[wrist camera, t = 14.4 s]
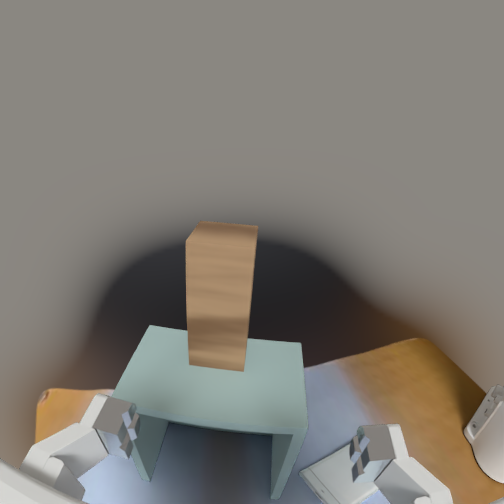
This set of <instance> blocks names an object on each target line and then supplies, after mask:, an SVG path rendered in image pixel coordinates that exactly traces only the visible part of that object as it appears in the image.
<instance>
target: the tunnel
mask: <svg viewBox="0 0 504 504" xmlns="http://www.w3.org/2000/svg"><path fill="white" fill-rule="evenodd" d="M111 397H113V398H117V399H120V400H124V401H128V402H132V403H135V404H136V407H137V410H136V413H137V414H138V415H139V417H140V424H141V425H140V431H139V434H138V437H137V438H136V439H134V440H132V443H133V446H134V447H133V450H132V452H131V456H132V458H133V460H134V463H135V465H136V467H137V469H138V471H139V474H140V476H141V478H142V480H145V481H149V482H150V481H151V478H152V475H153V471H154V468H155V465H156V461H157V458H158V455H159V452H160V449H161V445H162V442H163V439H164V436H165V433H166V429H167V426H168V423H169V422H170V423H176V424H181V425H187V426H192V427H199V428H205V429H212V430H219V431H227V432H236V433H245V434H256V435H269V436H272V463H271V490H270V499H277V500H279V498H280V496H281V494H282V491H283V489H284V487H285V485H286V482H287V480H288V478H289V475H290V473H291V471H292V468H293V466H294V463H295V461H296V459H297V456H298V454H299V451H300V449H301V446H302V444H303V441H304V438H305V436H306V433H307V430H308V416H307V404H306V391H305V380H304V369H303V359H302V348H301V343H292V342H280V341H269V340H258V339H248V340H247V348H246V357H245V366H244V372H241V371H232V370H223V369H215V368H207V367H200V366H193V365H189V353H188V331H184V330H177V329H170V328H164V327H158V326H151V325H150V326H149V328H148V330H147V331H146V333H145V335H144V337H143V338H142V340H141V342H140V344H139V346H138V347H137V349H136V351H135V353H134V355H133V357H132V358H131V360H130V362H129V364H128V366H127V368H126V370H125V372H124V373H123V375H122V377H121V379H120V381H119V383H118V385H117V387H116V389H115V391H114V392H113V394H112V396H111Z"/></svg>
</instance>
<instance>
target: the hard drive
mask: <svg viewBox="0 0 504 504" xmlns="http://www.w3.org/2000/svg"><path fill="white" fill-rule="evenodd" d="M349 448H350V444H348V445H347V446H345V447H343V448H342V449H340V450H338V451H337V452H335V453H333V454H331V455H330V456H328V457H326V458H324V459H322V460H321V461H319V462H317V463H315V464H313V465H311V466H310V467H308V468H306V469H304V470H302V471H300V472H299V475H300V476H301V478H302V479H303V480H304V481H305V482H306V484H307V485H308V486H309V487H310V489H311V490H312V491H313V492H314V493H315V494H316V496H317V497H318V498H319V499H320V500H321V502H322V503H323V504H360V503H362V502H363V501H365V500H366V499H367V498H369V497H370V496H372V495H373V494H374V493H376V492H377V491H378V490H379V489H378V487H377V486H376V485H375V484H374V482H363V483H353V478H352V471H351V469H352V467H353V466H354V463H353V462H352V461H351V460H350V455H349Z"/></svg>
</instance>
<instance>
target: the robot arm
mask: <svg viewBox="0 0 504 504" xmlns="http://www.w3.org/2000/svg"><path fill="white" fill-rule="evenodd" d="M136 410H137V407H136V404H135V403H132V402H128V401H124V400H120V399H117V398H113V397H110V396H107V395H103V394H100V393H98V394H97V395H95V396H94V398H93V400H92V402H91V404H90V405H89V407H88V409H87V411H86V412H85V414H84V416H83V418H82V420H81V421H80V423H74V424H73V425H71V426H69V427H67V428H65V429H63V430H61V431H60V432H58V433H56V434H54V435H52V436H50V437H48V438H46V439H44V440H42V441H40V442H38V443H37V444H35V445H33V446H32V447H31V449H30V451H29V452H28V454H27V456H26V458H25V459H24V461H23V463H22V465H21V466H20V468H19V469H17V468H15V467H14V466H12V465H10V464H9V463H7V462H6V461H4V460H2V459H1V458H0V504H88V503H86V502H83V501H82V498H83V496H84V493H85V489H84V487H83V486H82V485H81V483H80V482H79V481H78V480H77V478H79V477H80V476H81V475H83V474H84V473H86V472H87V471H88V470H90V469H91V468H92V467H94V466H95V465H96V464H98V463H99V462H100V461H102V460H103V459H104V458H106V457H107V456H108V454H110V455H113V456H117V457H120V458H124V459H128V460H129V457H130V455H131V452H132V450H133V447H134V446H133V443H132V440H134V439H136V438H137V437H138V434H139V431H140V425H141V424H140V417H139V415H138V414H137V413H136ZM464 435H465V437H466V438H467V439H468V441H469V442H470V443H471V445H472V447H473V451H474V454H475V457H476V460H477V462H478V464H479V466H480V467H481V468H482V470H483V471H484V472H485V473H486V474H487V475H488V476H489V477H491V478H492V479H494V480H496V481H498V482H501V483H504V387H502V386H500V385H497V386H493V387H491V389H490V390H489V391H488V393H487V394H486V396H485V398H484V399H483V401H482V403H481V404H480V406H479V408H478V409H477V411H476V412H475V414H474V416H473V417H472V419H471V420H470V422H469V423H468V425H467V426H466V428H465V429H464ZM349 455H350V460H351V461H352V462H353V463H354V466H353V467H352V469H351V471H352V478H353V483H363V482H374V484H375V485H376V486H377V487H378V489H379V490H380V491H381V492H382V494H383V495H384V496H385V497H386V498H387V500H388V501H389V502H390V503H391V504H453V501H452V497H451V494H450V490H449V489H448V488H447V487H446V486H445V485H444V484H442V483H441V482H440V481H439V480H438V479H437V478H435V477H434V476H433V475H432V474H431V473H430V472H429V471H427V470H426V469H425V468H424V467H423V466H422V465H421V464H420V463H418V462H417V461H416V460H415V459H414V458H413V457H409V455H408V452H407V448H406V445H405V441H404V438H403V434H402V431H401V428H400V425H399V424H386V425H385V424H381V425H367V426H360V427H359V428H358V430H357V436H355V437H353V439H352V441H351V443H350V448H349ZM489 504H504V497H503V498H500V499H498V500H496V501H494V502H491V503H489Z"/></svg>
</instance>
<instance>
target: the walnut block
mask: <svg viewBox="0 0 504 504" xmlns="http://www.w3.org/2000/svg"><path fill="white" fill-rule="evenodd" d="M257 232H258V226H252V225H240V224H229V223H218V222H208V221H200V222H199V223H198V225H197V226H196V228H195V229H194V231H193V232H192V233H191V235H190V236H189V238H188V239H187V240H186V295H187V296H186V300H187V328H188V329H187V331H188V353H189V365H193V366H200V367H207V368H215V369H223V370H232V371H241V372H244V366H245V357H246V348H247V340H248V329H249V319H250V308H251V297H252V287H253V276H254V265H255V255H256V244H257Z"/></svg>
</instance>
